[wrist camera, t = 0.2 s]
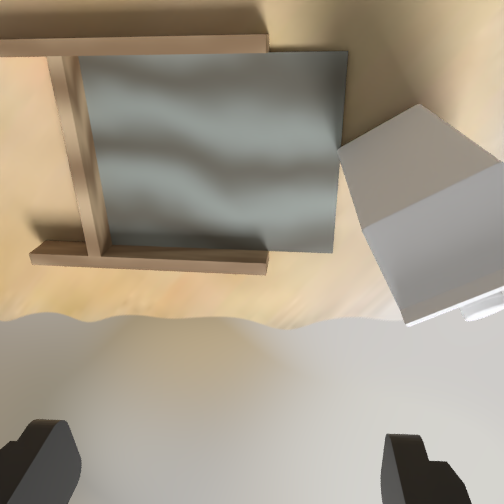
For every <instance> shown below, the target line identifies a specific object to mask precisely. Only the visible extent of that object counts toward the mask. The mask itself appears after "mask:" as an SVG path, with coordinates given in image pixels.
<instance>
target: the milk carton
mask: <svg viewBox="0 0 504 504" xmlns="http://www.w3.org/2000/svg"><path fill="white" fill-rule="evenodd" d="M337 153H338V156H339V159H340V162H341V165H342V168H343V172H344V175H345V178H346V181H347V184H348V187H349V191H350V194H351V197H352V200H353V203H354V206H355V210H356V213H357V216H358V219H359V222H360V225H361V229H362V232H363V234H364V236H365V238H366V240H367V242H368V245H369V247H370V249H371V251H372V253H373V255H374V257H375V259H376V261H377V263H378V265H379V267H380V269H381V272H382V274H383V276H384V278H385V280H386V282H387V284H388V286H389V288H390V290H391V292H392V294H393V297H394V299H395V301H396V303H397V305H398V307H399V309H400V311H401V314H402V317H403V319H404V322H405V325H406V326H407V327H410V326H413V325H415V324H418V323H420V322H423V321H425V320H428V319H431V318H433V317H436V316H438V315H441V314H443V313H446V312H449V311H451V310H454V309H456V308H459V309H460V311H461V313H462V315H463V317H464V319H465V320H466V321H474V320H477V319H480V318H483V317H486V316H489V315H491V314H494V313H496V312H498V311H500V310H502V309H504V296H503V294H502V292H501V291H503V290H504V163H503V162H501V161H500V160H498V159H497V158H496V157H494V156H493V155H491V154H490V153H489V152H487V151H486V150H484V149H483V148H482V147H480V146H479V145H477V144H476V143H475V142H473V141H472V140H470V139H469V138H468V137H466V136H465V135H463V134H462V133H461V132H459V131H458V130H456V129H455V128H454V127H452V126H451V125H449V124H448V123H447V122H445V121H444V120H442V119H441V118H440V117H438V116H437V115H435V114H434V113H433V112H431V111H430V110H428V109H427V108H425V107H424V106H423V105H421V104H417V105H415V106H413V107H411V108H409V109H408V110H406V111H404V112H402V113H400V114H399V115H397V116H395V117H393V118H392V119H390V120H388V121H386V122H384V123H383V124H381V125H379V126H377V127H376V128H374V129H372V130H370V131H369V132H367V133H365V134H363V135H361V136H360V137H358V138H356V139H354V140H353V141H351V142H349V143H347V144H346V145H344V146H342V147H340V148H339V149H338V150H337Z"/></svg>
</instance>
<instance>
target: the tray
mask: <svg viewBox="0 0 504 504" xmlns="http://www.w3.org/2000/svg"><path fill="white" fill-rule="evenodd" d="M39 56H46V57H47V62H48V66H49V71H50V76H51V81H52V85H53V90H54V95H55V99H56V104H57V109H58V114H59V118H60V123H61V128H62V133H63V137H64V142H65V147H66V152H67V156H68V161H69V166H70V171H71V175H72V180H73V185H74V190H75V194H76V199H77V204H78V208H79V213H80V218H81V223H82V227H83V232H84V237H85V242H73V241H47V240H46V241H45V242H44V243H42V244H41V245H40V246H38V247H37V248H36V249H34V250H33V251H32V252H30V253H29V256H30V259H31V263H32V265H50V266H71V267H93V268H115V269H137V270H159V271H181V272H203V273H225V274H247V275H266V272H267V267H268V261H269V251H286V252H311V253H333V242H334V229H335V216H336V203H337V190H338V177H339V164H340V159H339V156H338V153H337V150H338V149H339V148H340V147H341V139H342V126H343V113H344V100H345V87H346V74H347V61H348V51H317V52H269V35H267V34H249V35H199V36H150V37H101V38H51V39H2V40H0V57H39Z"/></svg>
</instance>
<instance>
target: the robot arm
mask: <svg viewBox="0 0 504 504" xmlns="http://www.w3.org/2000/svg"><path fill="white" fill-rule="evenodd" d="M80 473H81V457H80V455H79V452H78V449H77V447H76V444H75V441H74V439H73V436H72V433H71V430H70V428H69V425H68V423H67V422H66V421H64V420H44V419H36V420H33V421H32V422H31V423H30V424H29V425H28V426H27V427H26V429H25V430H24V432H23V433H22V435H21V436H20V438H19V439H18V440H17V441H10V442H9V443H7V444H6V445H5V446H4V447H3V448H2V449H0V504H68V502H69V500H70V498H71V496H72V494H73V492H74V490H75V488H76V486H77V483H78V481H79V477H80ZM381 494H382V502H383V504H472V503H471V501H470V498H469V495H468V493H467V490H466V487H465V484H464V483H463V482H462V480H461V479H460V478H459V477H458V475H457V474H456V473H455V472H454V470H453V469H452V468H451V466H450V465H449V464H448V463H447V462H443V461H429V459H428V456H427V453H426V450H425V446H424V443H423V441H422V439H421V437H420V435H408V434H386V437H385V445H384V453H383V460H382V469H381Z"/></svg>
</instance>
